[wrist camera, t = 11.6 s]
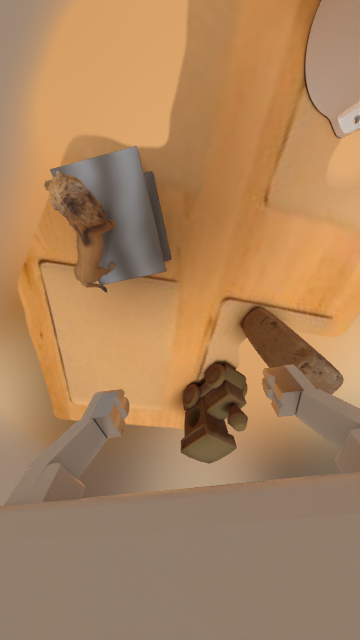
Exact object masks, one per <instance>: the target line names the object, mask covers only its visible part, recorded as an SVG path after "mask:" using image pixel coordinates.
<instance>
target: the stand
mask: <svg viewBox="0 0 360 640" xmlns="http://www.w3.org/2000/svg"><path fill="white" fill-rule="evenodd" d="M50 171H51V173H52V175H53V177H55V176H56V171H60V172H62V173H63V174H66V175H67V174H68V175H70V176H72V177H76V178H77V179H78V180H80V181H81V182H82V184H83V185H84V186H85V187H86V188H87V189H88V190H90V191H91V192H92V194H93V196H95V197H96V199H97V200H98V201H99V202H100V204H101V206H102V209H103V210H104V212H105V213H106V215H105V219H106V221H107V222H108V220H113V221H115V223H116V227H115V228H114V229H113V230H110V231H107V232H105V233H104V234H103V242H104V248H103V254H102V257H101V259H100V262H99V266H100V267H103V268H105V269H107V268H108V264H109V262H114V263H115V264H116V267H115V269H114V270H112V271H111V272H109V273H108V274H107V275H103V276H102V277H101V278H100V279H99V280H98V281H99V284H100V285H104V284H109V283H114V282H118V281H123V280H128V279H133V278H137V277H142V276H147V275H152V274H157V273H161V272H166V268H165V264H164V261H168V260H171V255H170V250H169V246H168V241H167V236H166V231H165V227H164V222H163V217H162V212H161V208H160V203H159V198H158V194H157V189H156V184H155V179H154V175H153V172H152V171H150V172H146V173H143V169H142V165H141V161H140V156H139V152H138V149H137V146H135V147H131V148H127V149H124V150H120V151H116V152H113V153H109V154H105V155H102V156H98V157H94V158H91V159H87V160H83V161H79V162H76V163H72V164H68V165H65V166H61V167H57V168H54V169H50Z"/></svg>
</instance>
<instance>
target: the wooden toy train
mask: <svg viewBox="0 0 360 640" xmlns="http://www.w3.org/2000/svg"><path fill="white" fill-rule="evenodd" d="M205 378H206V382H205V383H204V384H203V385H202V386H200V387H198V386H197V385H196V384H191V385H190V386H188V387H187V388H186V390H185V392H184V395H183V403H184V410H185V411H186V413H185V437H184V438H183V439H182V440H181V453H183V454H185V455H186V456H188V457H190V458H193V459H195V460H198V461H201V462H206V463H212V462H215V461H217V460H219V459H221V458H223V457H225V456H226V455H228V454H230V453H231V452H232V451H233V450H235V449H236V443H235V440H234V437H233V436H232V435H230V434H228V431H227V428H226V424H225V421H224V419H226V418H228V419H227V420H228V424H229V425H231V426H232V427H233V428H234V429H235V430H236V431H243V430H245V429H246V425H247V420H248V418H247V416H246V415H245V414H244V413H243V412H242V411H241V408H242V407H243V406H244V405H245V404H246V401H245V398H244V397H245V395H246V393H247V384H246V382H245V381H246V378H245V376H244V375H242V374H241V373H239V372H238V371H236V370H235V369H233V368H232V367H230V366H229V365H225V366H224V367H223V365H221V364H214V365H212V366H211V367H210V368H209V369H208V371H207V373H206V377H205Z"/></svg>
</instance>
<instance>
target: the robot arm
mask: <svg viewBox="0 0 360 640" xmlns="http://www.w3.org/2000/svg"><path fill="white" fill-rule="evenodd" d="M305 68H306V82H307V87H308V91H309V94H310V97H311V99H312V101H313V103H314V105H315V106H316V108H317V109H318V110H319V111H320V112H321V113H323V114H324V115H325V116H326V117H328V118H329V119H330V121H331V123H332V126H333V129H334V131H335V133H336V135H337V136H338V137H340V138H341V137H345V136H347V135H349V134H351V133H353V132H355V131H357V130H359V129H360V0H321V2H320V5H319V7H318V9H317V12H316V15H315V18H314V21H313V24H312V27H311V31H310V35H309V40H308V45H307V52H306V66H305ZM354 119H355V123H354ZM263 375H264V378H263V379H262V385H263V389H264V392H265V394H266V396H267V397H268V398H270V399H271V400H272V406H273V408H274V410H275V412H276V413H277V415H278V417H281V416H292V415H296V417H298V418H299V419H300V420H302V421H303V422H304V423H305V424H307V425H308V426H309V427H310V428H312V429H313V430H314V431H315V432H317V433H318V434H319V435H321V436H322V437H323V438H325V439H326V440H327V441H328V442H330V443H331V444H332V445H333V446H335V447H336V448H337V449H338V450H340V451H339V453H338V455H337V457H336V459H335V464H336V465H337V467H338V468H339V469H340V471H341V473H340V474H330V475H320V476H310V477H300V478H290V479H289V478H288V479H278V480H268V481H257V482H247V483H237V484H227V485H216V486H207V487H196V488H185V489H175V490H164V491H155V492H145V493H134V494H123V495H114V496H104V497H93V498H83V499H81V498H82V495H83V492H84V489H85V487H84V485H83V484H82V483H81V482H80V481H79V480H78V478H79V477H80V476H81V474H82V473H83V472H84V470H85V469H86V468H87V466H88V465H89V463H90V462H91V461H92V459H93V458H94V457H95V455H96V454H97V453H98V451H99V450H100V448H101V447H102V446H103V444H104V443H105V442H106V440H107V438H112V437H119V436H122V434H123V431H124V427H125V424H126V423H125V421H124V419H125V418H126V417H127V416H128V412H129V401H128V399H127V398H126V397H124V394H125V393H124V391H123V390H112V391H104V392H97V393H95V394H94V396H93V398H92V400H91V401H90V403H89V405H88V407H87V409H86V411H85V413H84V415H83V417H82V419H81V420H80V421H77V422H76V423H75V424H74V425H73V426H72V427H71V428H70V429H68V430H67V431H66V432H65V433H64V434H63V435H62V436H61V437H60V438H59V439H58V440H56V442H54V443H53V444H52V445H51V446H50V447H49V448H48V449H47V450H46V451H45V452H43V454H41V455H40V456H39V457H38V458H37V459H36V460H35V461H34V462H32V463H31V464H30V465H29V467H28V468H27V470H26V472H25V473H24V475H23V476H22V478H21V479H20V481H19V483H18V484H17V485H16V487H15V489H14V490H13V492H12V493H11V495H10V497H9V498H8V500H7V501H6V503H5V504H4V506H0V640H360V409H359V408H357V407H355V406H353V405H351V404H349V403H347V402H345V401H343V400H341V399H339V398H337V397H335V396H333V395H331V394H329V393H327V392H325V391H323V390H321V389H316V388H315V387H314V386H313V385H312V384H311V382H310V381H309V380H308V379H307V378H306V377H305V376H304V375H303V374H302V373H301V372H300V371H299V369H298V368H297V367H296V366H295V365H293V364H292V365H285V366H278V367H272V368H265V369H264V370H263Z"/></svg>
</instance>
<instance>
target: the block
mask: <svg viewBox="0 0 360 640" xmlns="http://www.w3.org/2000/svg"><path fill="white" fill-rule="evenodd" d="M242 328H243V332H244V334H245V335H246V337H247V338H248V339H249V341H250V342H251V344H252V345H253V347H254V348H255V350H256V351H257V352H258V354H259V355H260V356H261V357H262V359H263V360H264V361H265V363H266V364H267V365H268V366H269V368H272V367H278V366H285V365H292V364H293V365H295V366H296V367H297V368H298V369H299V371H300V372H301V373H302V374H303V375H304V376H305V377H306V378H307V379H308V380H309V381H310V382H311V384H312V385H313V386H314V387H315V388H316V389H321V390H323V391H325V392H327V393H329V394H333V393H334V392H335V391H336V390H337V389H338V388H339V387H340V386H341V385H342V384H343V376H342V375H341V374H340V372H339V371H338V370H337V369H336V368H335V367H334V366H333V365H332V364H331V363H330V362H328V361H327V360H326V359H325V358H324V357H323V356H322V355H321V354H319V353H318V352H317V351H316V350H315V349H314V348H313V347H311V346H310V345H309V344H308V343H307V342H306V341H304V340H303V339H302V338H301V337H300V336H299V335H298V334H296V333H295V332H294V331H293V330H292V329H290V328H289V327H288V326H287V325H286V324H284V323H283V322H282V321H281V320H279V319H278V318H277V317H275V316H274V315H273V314H271V313H270V312H269V311H267V310H265V309H264V308H256V309H255V310H253V311H252V312H251V313H249V314H248V315H247V316H246V318H245V320H244V324H243V326H242Z"/></svg>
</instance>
